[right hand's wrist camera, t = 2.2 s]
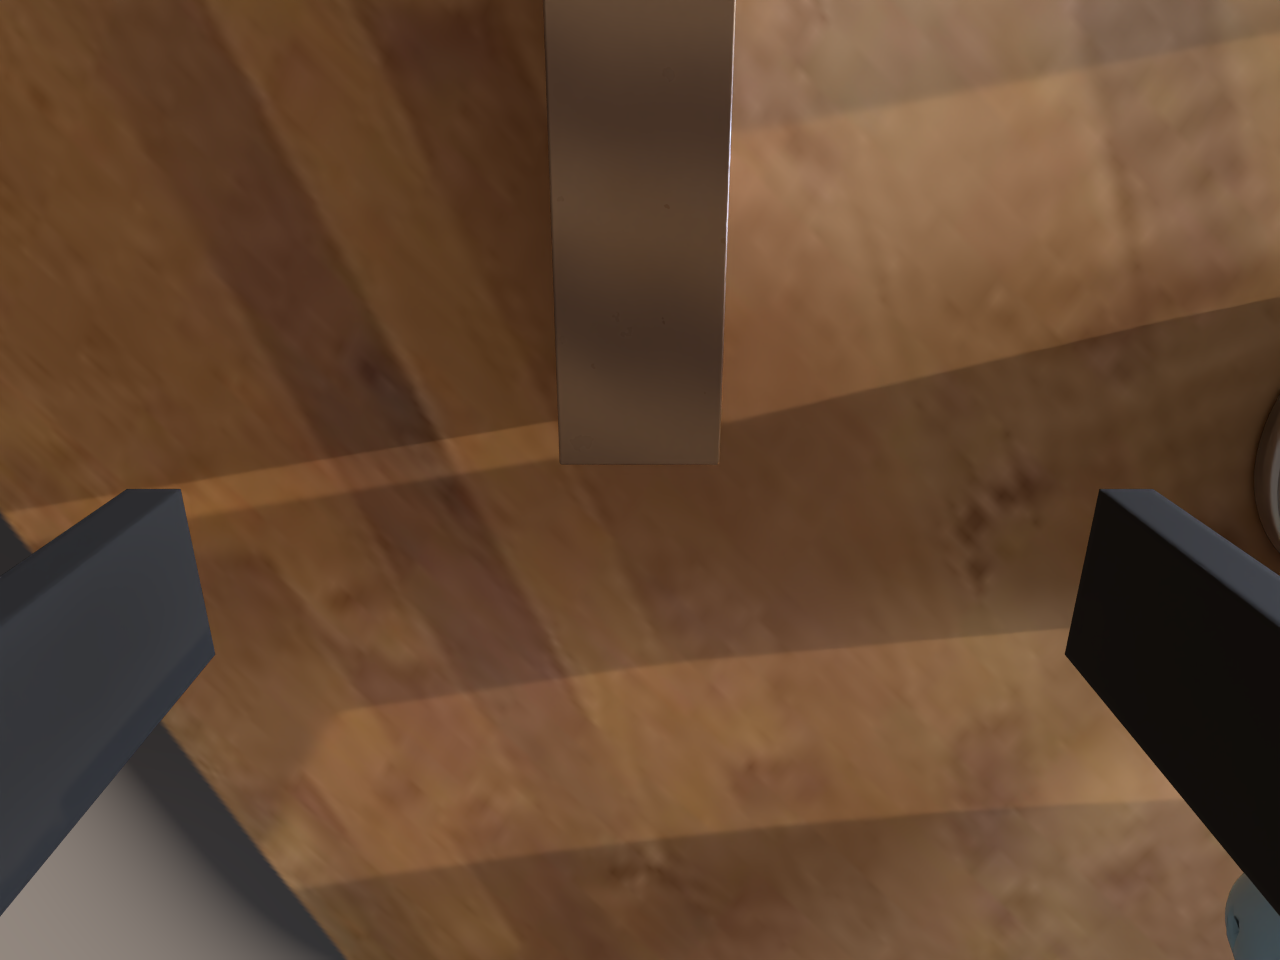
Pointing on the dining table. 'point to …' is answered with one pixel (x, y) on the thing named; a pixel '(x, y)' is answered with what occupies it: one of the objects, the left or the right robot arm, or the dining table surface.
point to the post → (639, 224)
